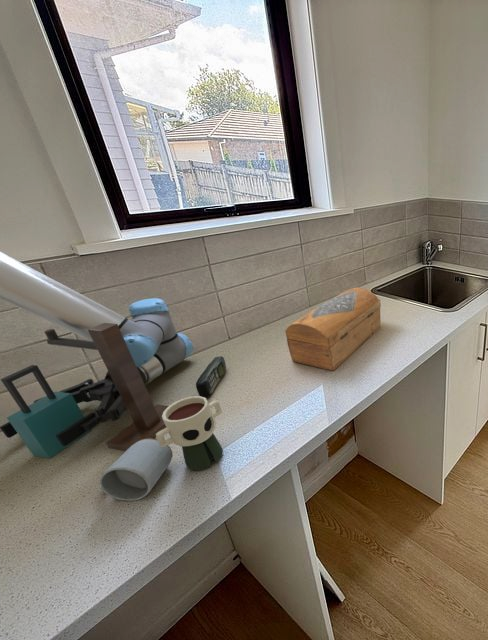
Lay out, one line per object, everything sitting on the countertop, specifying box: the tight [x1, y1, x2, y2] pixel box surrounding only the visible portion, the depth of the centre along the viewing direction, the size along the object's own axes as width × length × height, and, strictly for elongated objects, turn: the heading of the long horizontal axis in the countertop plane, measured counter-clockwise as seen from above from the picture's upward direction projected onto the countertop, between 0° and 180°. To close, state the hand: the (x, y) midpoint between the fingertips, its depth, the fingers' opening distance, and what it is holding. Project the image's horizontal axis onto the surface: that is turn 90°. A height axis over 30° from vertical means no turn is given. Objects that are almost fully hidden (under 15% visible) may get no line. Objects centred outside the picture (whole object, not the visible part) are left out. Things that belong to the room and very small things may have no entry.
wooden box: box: [285, 287, 381, 371], centre depth 106 cm, size 30×16×14 cm, turn 159°
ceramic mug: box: [98, 438, 174, 502], centre depth 60 cm, size 11×8×8 cm
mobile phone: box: [195, 356, 227, 399], centre depth 88 cm, size 5×3×15 cm
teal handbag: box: [0, 364, 93, 459], centre depth 66 cm, size 4×8×18 cm, turn 171°
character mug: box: [155, 395, 224, 471], centre depth 64 cm, size 11×7×13 cm, turn 149°
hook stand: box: [43, 323, 169, 452], centre depth 69 cm, size 18×12×26 cm
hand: (31, 436), depth 65 cm, fingers open, 13 cm apart
